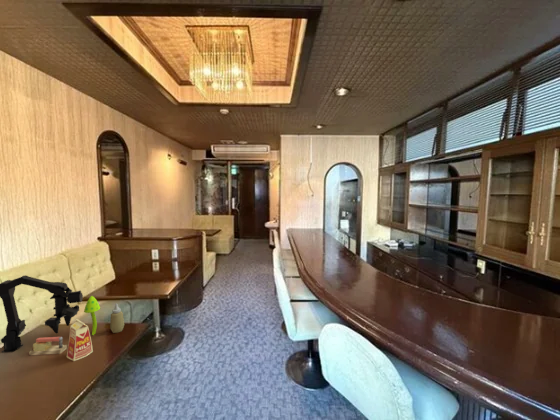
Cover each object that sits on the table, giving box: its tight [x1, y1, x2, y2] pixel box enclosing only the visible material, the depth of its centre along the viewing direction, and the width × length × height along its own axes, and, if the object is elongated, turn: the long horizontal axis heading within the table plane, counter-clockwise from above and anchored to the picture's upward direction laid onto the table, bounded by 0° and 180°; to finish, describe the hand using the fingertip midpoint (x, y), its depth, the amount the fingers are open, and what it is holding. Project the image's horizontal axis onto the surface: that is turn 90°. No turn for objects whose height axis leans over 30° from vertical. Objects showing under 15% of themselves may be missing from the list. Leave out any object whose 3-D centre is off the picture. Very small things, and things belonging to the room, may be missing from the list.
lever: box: [35, 336, 63, 343], centre depth 148 cm, size 13×2×2 cm, turn 95°
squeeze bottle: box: [109, 303, 125, 334], centre depth 170 cm, size 8×8×18 cm
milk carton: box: [66, 318, 94, 362], centre depth 144 cm, size 9×9×20 cm
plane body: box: [28, 340, 68, 356], centre depth 148 cm, size 16×5×6 cm, turn 95°
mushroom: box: [83, 295, 101, 336], centre depth 165 cm, size 8×8×25 cm
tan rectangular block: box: [32, 341, 53, 351], centre depth 147 cm, size 6×4×4 cm
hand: (62, 329), depth 159 cm, fingers open, 9 cm apart
